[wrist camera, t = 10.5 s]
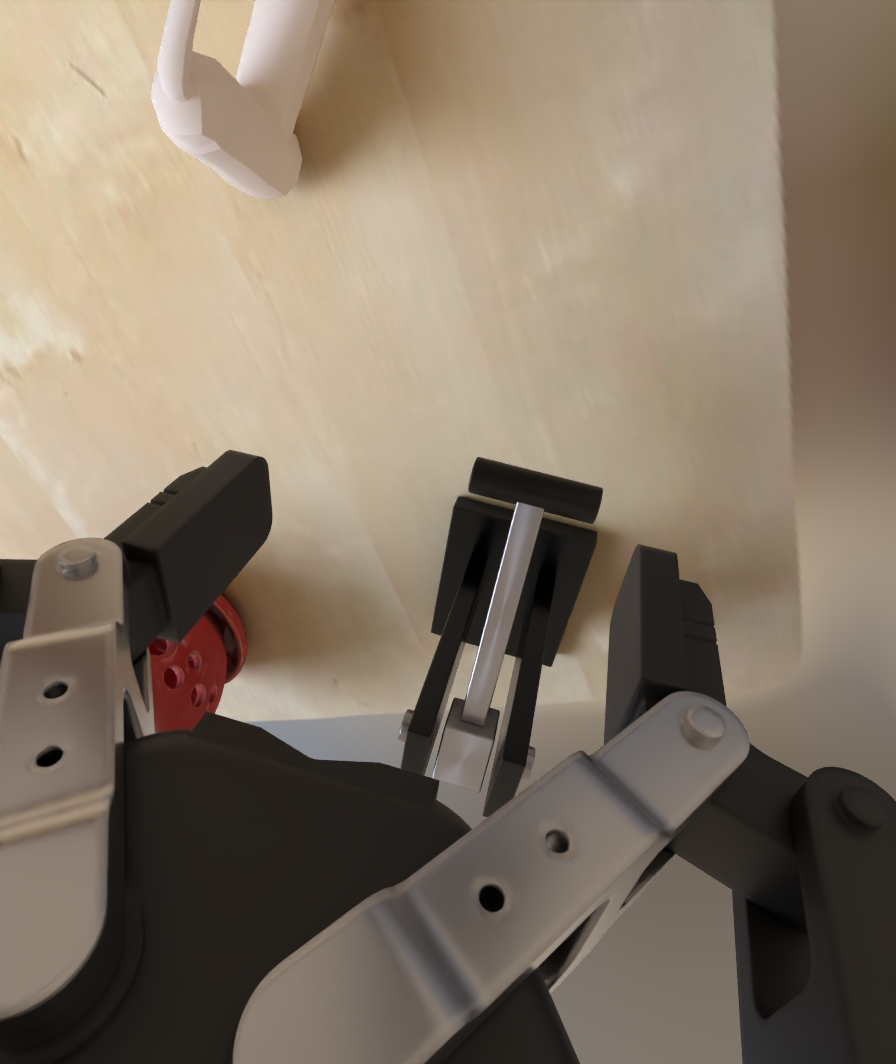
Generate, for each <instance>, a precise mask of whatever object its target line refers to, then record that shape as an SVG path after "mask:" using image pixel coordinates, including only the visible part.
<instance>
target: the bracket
mask: <svg viewBox="0 0 896 1064" xmlns="http://www.w3.org/2000/svg"><path fill="white" fill-rule="evenodd" d="M513 514H514V511H513V510H510V509H506V508H502V507H498V506H494V505H490V504H486V503H483V502H479V501H475V500H471V499H467V498H463V497H458V498H457V500H456V503H455V505H454V507H453V513H452V518H451V524H450V529H449V535H448V540H447V546H446V551H445V557H444V562H443V568H442V573H441V579H440V584H439V590H438V595H437V601H436V606H435V612H434V618H433V623H432V629H431V633H434V634H437V635H441V638H440V641H439V644H438V646H437V649H436V652H435V655H434V658H433V660H432V663H431V666H430V669H429V671H428V674H427V677H426V680H425V682H424V685H423V688H422V691H421V693H420V696H419V699H418V702H417V704H416V707H415V710H414V711H413V710H410V709H408V710H407V711H406V713H405V715H404V718H403V721H402V725H401V728H400V732H399V740H401V741H404V742H405V746H404V752H403V758H402V763H401V769H403V770H406V771H409V772H413V773H416V774H420V775H423V776H424V774H425V771H426V768H427V765H428V762H429V758H430V755H431V752H432V749H433V745H434V742H435V739H436V736H437V733H438V729H439V726H440V723H441V720H442V717H443V713H444V710H445V707H446V704H447V701H448V697H449V694H450V691H451V688H452V685H453V681H454V678H455V675H456V672H457V669H458V665H459V662H460V659H461V656H462V653H463V649H464V646H465V643H469V644H472V645H476V646H479V645H480V641H481V637H482V633H483V629H484V625H485V622H486V618H487V614H488V610H489V606H490V602H491V599H492V595H493V591H494V587H495V583H496V579H497V576H498V572H499V568H500V564H501V560H502V556H503V553H504V549H505V545H506V541H507V537H508V533H509V530H510V526H511V522H512V518H513ZM596 542H597V532H595V531H591V530H587V529H583V528H579V527H575V526H571V525H568V524H564V523H560V522H556V521H552V520H548V519H544V518H542V520H541V523H540V527H539V531H538V534H537V538H536V542H535V545H534V549H533V552H532V556H531V560H530V563H529V567H528V570H527V574H526V578H525V581H524V585H523V589H522V592H521V596H520V599H519V603H518V607H517V610H516V614H515V618H514V621H513V625H512V628H511V632H510V636H509V639H508V643H507V646H506V650H505V654H507V655H511V656H514V657H516V659H515V664H514V669H513V673H512V678H511V683H510V688H509V692H508V697H507V702H506V707H505V711H504V716H503V721H502V726H501V730H500V735H499V741H498V745H497V749H496V754H495V759H494V764H493V768H492V773H491V778H490V783H489V788H488V792H487V797H486V802H485V806H484V812H483V816H485V817H489V816H490V815H492V814H493V813H494V812H496V811H497V810H498V809H500V808H501V807H502V806H504V805H505V804H506V803H508V802H509V801H510V800H512V799H513V798H514V796H515V793H516V790H517V788H518V785H519V783H520V780H521V778H523V779H528V778H529V776H530V774H531V770H532V767H533V762H534V757H535V748H534V747H532V746H529V743H530V737H531V730H532V724H533V718H534V711H535V705H536V699H537V693H538V687H539V680H540V674H541V668H542V665H546V666H549V667H551V666H552V664H553V661H554V659H555V656H556V653H557V651H558V648H559V645H560V642H561V640H562V637H563V634H564V631H565V629H566V626H567V623H568V620H569V618H570V615H571V612H572V610H573V607H574V604H575V601H576V599H577V596H578V593H579V590H580V588H581V585H582V582H583V579H584V577H585V574H586V571H587V568H588V566H589V563H590V560H591V558H592V555H593V552H594V549H595V547H596Z"/></svg>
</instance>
